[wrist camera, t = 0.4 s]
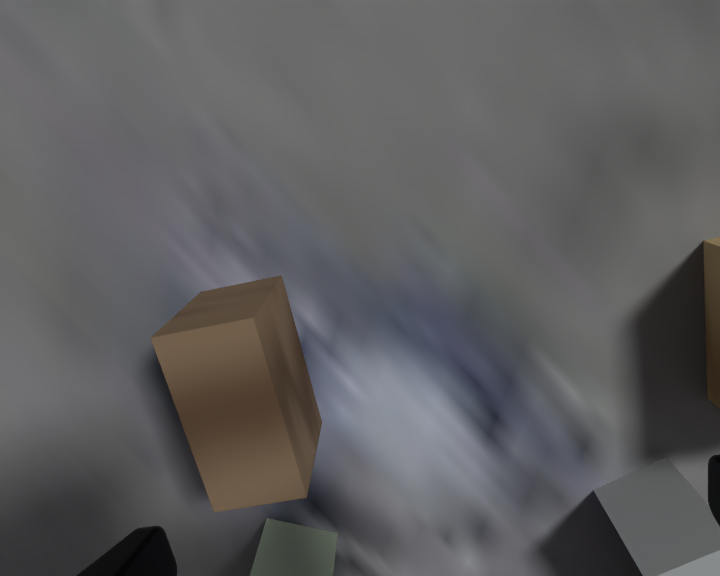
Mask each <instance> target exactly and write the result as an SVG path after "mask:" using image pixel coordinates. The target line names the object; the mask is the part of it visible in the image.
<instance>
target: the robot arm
mask: <svg viewBox="0 0 720 576" xmlns="http://www.w3.org/2000/svg"><path fill="white" fill-rule="evenodd" d="M708 502H709V507H710V510H711V512H712V514H713V516H714V518H715V520H716V521H717V523H718V525H719V526H720V455H714V456H712V457H711V458H710V459H709V462H708ZM77 576H177V565H176V561H175V558H174V555H173V552H172V550H171V547H170V544H169V541H168V538H167V536H166V533H165V531H164V529H163V528H162V527H160V526H151V527H143V528H138V529H136V530H134V531H133V532H132V533H130V534H129V535H128V536H127V537H125V538H124V539H123V540H122V541H120V542H119V543H118V544H116V545H115V546H114V547H113V548H111V549H110V550H109V551H108V552H106V553H105V554H104V555H102V556H101V557H100V558H99V559H97V560H96V561H95V562H93V563H92V564H91V565H90V566H88V567H87V568H86V569H85V570H83V571H82V572H81V573H79V574H78V575H77Z"/></svg>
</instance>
